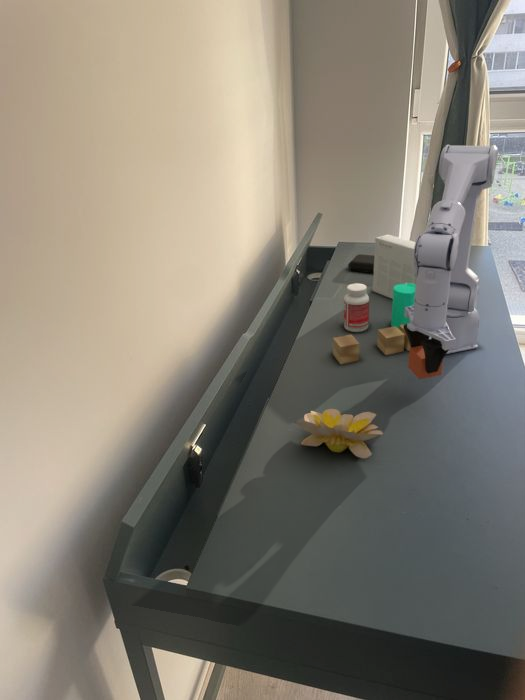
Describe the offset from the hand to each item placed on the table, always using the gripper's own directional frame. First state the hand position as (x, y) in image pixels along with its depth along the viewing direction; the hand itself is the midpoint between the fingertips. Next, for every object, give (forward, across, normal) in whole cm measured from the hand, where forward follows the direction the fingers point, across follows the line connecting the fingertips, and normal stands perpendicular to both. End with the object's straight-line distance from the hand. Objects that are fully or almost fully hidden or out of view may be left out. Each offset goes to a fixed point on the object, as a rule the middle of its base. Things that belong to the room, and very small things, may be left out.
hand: (424, 364), depth 101 cm
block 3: (+8, -21, +9) cm, 24 cm away
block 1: (+8, -21, -8) cm, 24 cm away
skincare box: (+9, -44, +20) cm, 49 cm away
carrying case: (+9, -68, +22) cm, 72 cm away
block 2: (+8, -21, +4) cm, 23 cm away
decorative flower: (+8, +7, -20) cm, 23 cm away
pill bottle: (+9, -34, 0) cm, 35 cm away
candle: (+9, -30, +12) cm, 33 cm away
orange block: (+1, 0, 0) cm, 1 cm away
